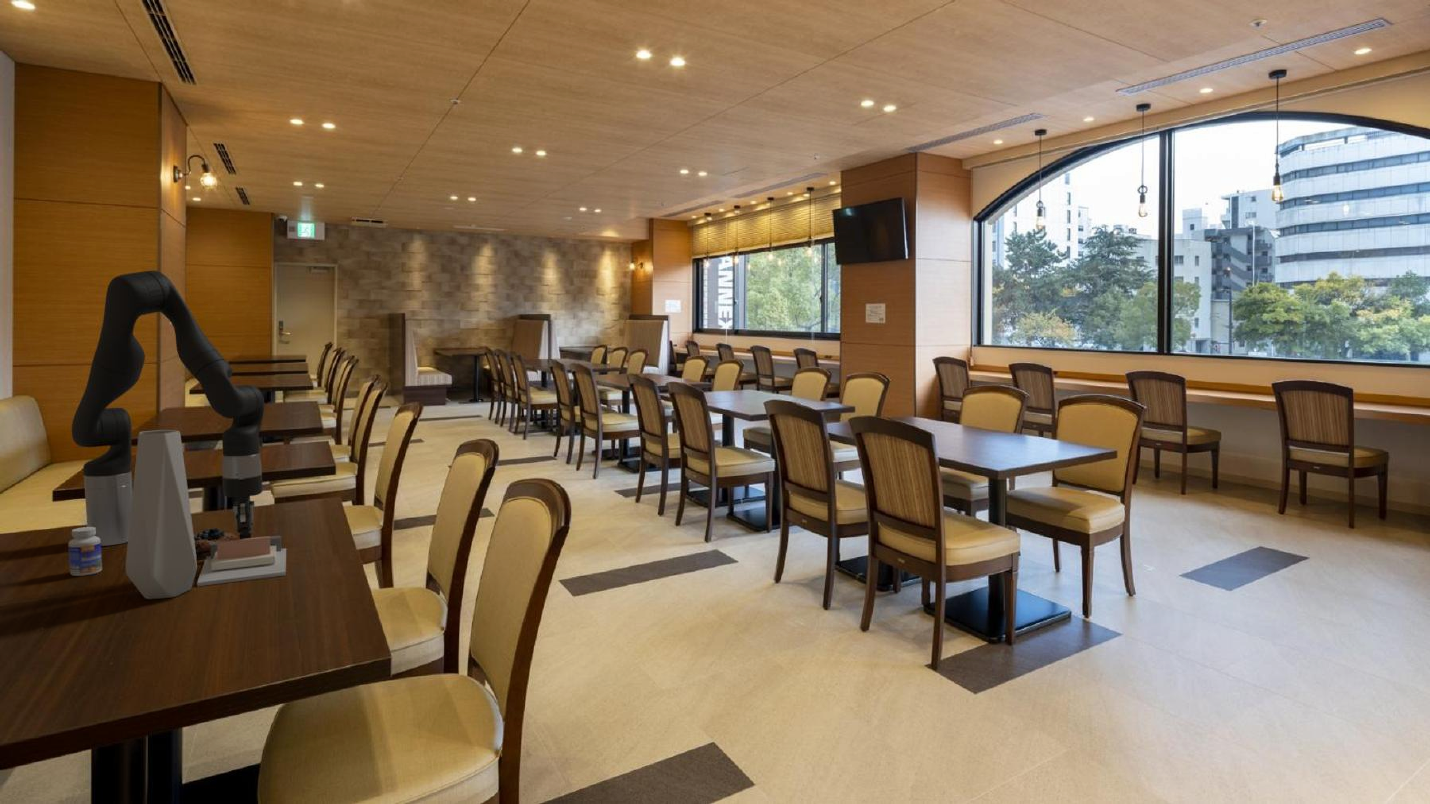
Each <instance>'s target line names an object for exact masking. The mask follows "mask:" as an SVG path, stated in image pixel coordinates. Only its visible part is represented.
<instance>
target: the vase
mask: <svg viewBox="0 0 1430 804" xmlns="http://www.w3.org/2000/svg"><path fill="white" fill-rule="evenodd" d="M135 456H136V458H135V465H134V466H135V467H134V476H133V477H134V478H133V484H132V489H133V495H132V505H131V515H130V526H129V536H128V542H127V546H126V547H127V548H126V559H125V574H126V576H127V578H129V580H130V581H131V582H132V583H133V585H134V586H135V587H136V589H137V590H138V591H139V593H140V594H141V595H142V596H143V598H144V599H145V600H146V599H147V600H158V599H170V598H175V597H178V596H180V595H182V594H185V593H186V592H188V591H190V590H191V589H192V586H193V583H194V580H195V577H196V574H197V569H198V564H197V560H196V549H195V541H194V535H195V534H194V527H193V519H192V512H191V503H190V495H189V488H188V480H187V475H186V473H187V472H186V467H185V460H184V451H183V444H182V436H181V431H179V430H173V429H157V430H154V429H153V430H147V431H145V430H143V431H140V432H139V433H138V437H137V447H136V455H135Z"/></svg>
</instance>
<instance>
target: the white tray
mask: <svg viewBox="0 0 1430 804" xmlns="http://www.w3.org/2000/svg"><path fill="white" fill-rule="evenodd" d="M269 536H270V535H269ZM210 550H211V556H210V557H206V559H204V563H203V566H202V569H201V571H200V573H199V577H198V579H197V582H196V585H197V586H196V587H203V586H212V585H220V584H226V583H234V582H241V581H243V582H244V581H250V580H251V581H252V580H259V579H267V578H268V579H270V578H276V577H282V576H286V572H287V570H286V569H287V548H286V547H285V548H282V535H272V536H270V551H275V550H276V562H275V563H273V564H265V565H256V566H248V567H239V568H231V569H222V570H214V571H212V570H211V563H212V560H213V557H218V555H217V542H212V543H211V545H210Z"/></svg>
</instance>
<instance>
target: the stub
mask: <svg viewBox="0 0 1430 804" xmlns="http://www.w3.org/2000/svg"><path fill="white" fill-rule="evenodd" d="M217 555H218V557H213V560H212V563H211V570H212V571H214V570H222V569H231V568H239V567H248V566H256V565H265V564H273V563H275V562H276V550H275V551H270V535H269V536H268V535H266V536H257V537H251V538H246V539H240V538H239V539H236V540H227V541H217Z"/></svg>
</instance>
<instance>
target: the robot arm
mask: <svg viewBox="0 0 1430 804" xmlns="http://www.w3.org/2000/svg"><path fill="white" fill-rule="evenodd" d="M155 313H162V315H164V316H165V318H167V320H168V321H169V322H170V324H171V325H172V327H173V330H174V333H175V344H176V351H177V356H178V358H179V359H180V362H181V364H183V366H184V367H185V368H186V369H187V370H188V371H189V373H190V374H191V375H192V376H193V378H195V379H196V380H197V382H198V383H199V384H200V387H201V389H202V390H203V393H204V395H205V397H206V399H207V401H208V404H209V405H210V407H211V408H212V409H213V410H214V411H215V413H217V414H218V415H220V416H221V417H223V418H225V419H232V423H231V425H230V427H228V428H227V429H226V430H224V431H223V433H222V438H221V441H222V444H221V445H222V463H221V465H222V467H221V469H222V471H221V472H222V489H223V490H222V491H223V492H222V493H223V496H224V497H227V498H235V499H236V502H233V505H232V510H233V513H234V519H235V520H234V522H235V525H236V526H237V527H236V531H237V534H238V538H239V539H246V538H252V532H253V527H252V526H253V523H254V510H255V500H251V497H254V496H258V495H260V494H262V492H263V475H262V474H263V471H262V460H261V454H260V438H259V437H260V436H259V435H260V430H261V426H262V423H263V418H264V414H265V413H264V412H265V399H264V395H263V394H262V392H261V390H260V389H259V388H258V387H256V386H255V385H252V384H251V385H250V384H243V385H242V384H241V385H234V384H233V382H232V381H231V380H230V378H231V377H233V376H232V375H233V372H234V371H233V368H232V366H231V364H229V362H228V361H227V359H226V358H224V356H223V355H222V354H221V353H220V352H219V350H217V348H216V347H215V346H214V345H213V344H212V342H211V341H210V340H209V339H208V337H207V336H206V335H205V333H204V332H203V331H202V328H201V327H200V325H199V324H198V322H197V320H196V319H195V317H194V316H193V313H192V312H191V310H190V309H189V307H188V306H187V304H186V302H185V301H184V299H183V297H182V296H181V294H180V293H179V291H178V290H177V288H176V286H175V285H174V284H173V282H172V281H171V280H170V278H168V277H167V275H165V274H164V273H163V272H160V271H157V270H143V271H137V272H129V273H123V274H120V275H117V276H115V277H113V278H112V279H111V280H110V282H109V284H108V286H107V290H106V296H105V301H104V312H103V318H102V319H103V320H102V325H101V331H100V334H99V338H98V341H97V345H96V349H95V352H94V355H93V359H92V361H91V366H90V370H89V375H88V379H87V383H86V385H85V389H84V392H83V395H82V397H81V399H80V402H79V404H78V406H77V408H76V411H75V413H74V416H73V420H72V423H71V437H72V440H73V442H74V443H75V444H76V445H77V446H79V447H81V448H99V447H107V446H109V449H108V450H107V451H106V452H105V453H103V454H102V455H100V456H99V457H96V458H94V459H91V460H88V461H86V462H85V463H84V464H83V467H82V469H83V481H84V482H83V484H84V486H83V487H84V497H85V511H86V513H85V515H86V527H95V528H96V534H95V536H96V537H99V538H100V542H101V547H105V546H114V545H121V544H126V543H128V536H129V526H130V515H131V505H132V495H133V477H132V476H133V474H132V459H133V457H132V451H133V450H132V435H133V433H132V432H133V429H132V427H133V426H132V419H131V417H130V414H129V412H128V411H127V410H126V409H125V408H123V407H108V406H110V405H111V404H112V403H113V402H114V401H116V400H118V399H119V398H120V397H121V396H123V395H124V394H126V393H127V392H128V391H130V389H132V388H133V387H134V386H135V385H136V383H137V382H138V381H139V379H140V377H141V374H142V370H143V368H144V364H145V361H146V355H145V350H144V348H143V347H142V345H141V344H140V342H139V341H138V339H137V338H136V337H135V335H134V329H135V326H136V322H137V321H138V319H139V318H140V317H142V316H145V315H149V314H155Z"/></svg>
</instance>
